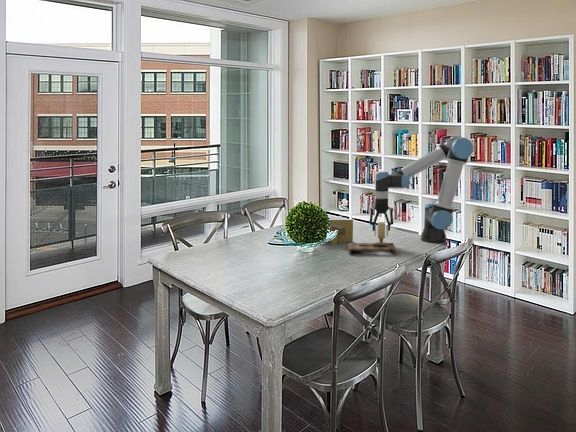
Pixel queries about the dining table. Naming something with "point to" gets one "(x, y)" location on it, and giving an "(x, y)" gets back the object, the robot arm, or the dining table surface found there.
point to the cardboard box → (342, 230)
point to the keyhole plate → (371, 246)
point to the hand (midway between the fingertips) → (381, 235)
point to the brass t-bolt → (381, 232)
